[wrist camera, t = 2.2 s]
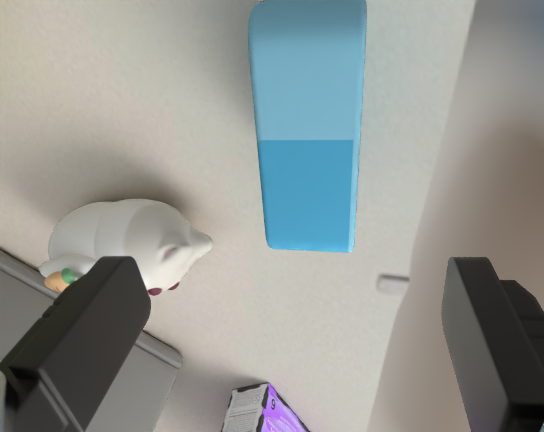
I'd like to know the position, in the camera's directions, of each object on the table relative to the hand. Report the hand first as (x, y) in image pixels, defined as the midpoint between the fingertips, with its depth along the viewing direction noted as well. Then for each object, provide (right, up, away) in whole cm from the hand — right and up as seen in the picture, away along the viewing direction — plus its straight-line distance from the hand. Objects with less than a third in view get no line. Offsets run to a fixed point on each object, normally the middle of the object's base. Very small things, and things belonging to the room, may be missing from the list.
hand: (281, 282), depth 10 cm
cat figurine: (-12, +1, +26) cm, 29 cm away
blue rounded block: (+3, +11, +17) cm, 21 cm away
